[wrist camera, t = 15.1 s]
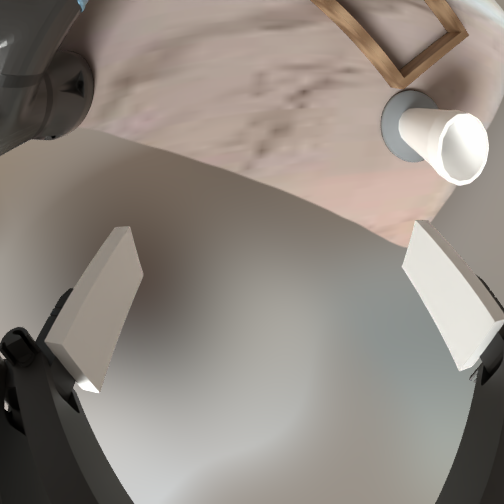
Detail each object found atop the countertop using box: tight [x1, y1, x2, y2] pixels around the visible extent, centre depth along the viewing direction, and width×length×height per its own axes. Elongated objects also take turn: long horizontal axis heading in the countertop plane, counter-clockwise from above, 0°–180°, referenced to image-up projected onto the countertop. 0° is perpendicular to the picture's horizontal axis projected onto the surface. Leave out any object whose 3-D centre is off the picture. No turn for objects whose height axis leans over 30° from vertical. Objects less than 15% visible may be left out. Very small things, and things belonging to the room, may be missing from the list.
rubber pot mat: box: [381, 90, 438, 162], centre depth 36 cm, size 12×12×1 cm
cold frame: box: [310, 0, 469, 89], centre depth 23 cm, size 18×18×6 cm
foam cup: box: [398, 108, 489, 186], centre depth 30 cm, size 10×9×13 cm
